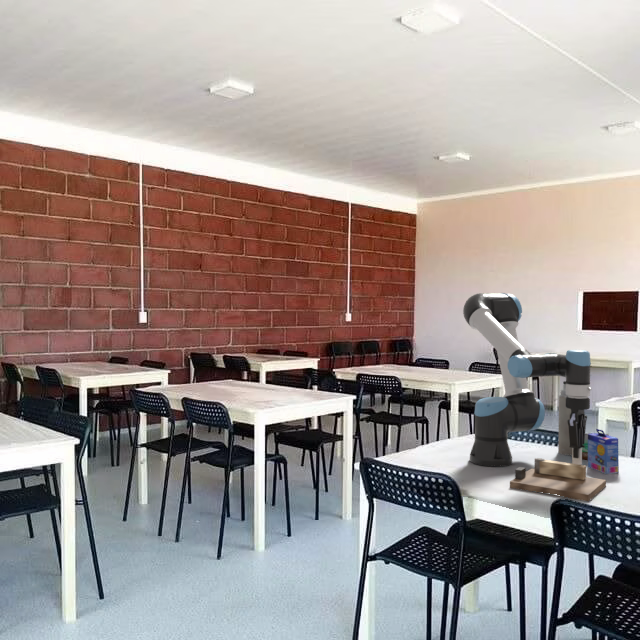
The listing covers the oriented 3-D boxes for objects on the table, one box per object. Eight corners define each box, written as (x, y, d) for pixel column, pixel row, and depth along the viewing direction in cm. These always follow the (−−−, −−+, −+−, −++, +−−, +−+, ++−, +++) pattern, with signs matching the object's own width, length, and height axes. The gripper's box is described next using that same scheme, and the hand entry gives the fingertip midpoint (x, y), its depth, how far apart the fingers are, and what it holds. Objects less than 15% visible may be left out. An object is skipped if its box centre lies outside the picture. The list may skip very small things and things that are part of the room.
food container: (574, 460, 245) (574, 433, 245) (574, 456, 251) (574, 430, 251) (610, 463, 241) (610, 436, 241) (609, 459, 247) (609, 432, 246)
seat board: (509, 487, 210) (509, 472, 210) (531, 474, 226) (531, 459, 226) (588, 501, 196) (588, 484, 196) (605, 486, 212) (606, 470, 212)
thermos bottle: (566, 450, 262) (567, 379, 262) (584, 453, 256) (585, 381, 255) (554, 452, 258) (554, 381, 257) (571, 456, 251) (572, 383, 250)
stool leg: (533, 472, 220) (533, 459, 220) (536, 470, 223) (536, 457, 223) (583, 480, 211) (583, 466, 211) (586, 478, 213) (586, 464, 213)
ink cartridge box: (586, 467, 235) (586, 427, 235) (599, 466, 237) (599, 426, 237) (605, 474, 226) (606, 432, 226) (619, 473, 228) (619, 431, 227)
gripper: (583, 400, 212) (582, 473, 213) (595, 395, 222) (594, 465, 223) (559, 397, 217) (558, 469, 218) (572, 393, 227) (572, 461, 228)
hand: (576, 467), depth 221 cm, fingers closed
